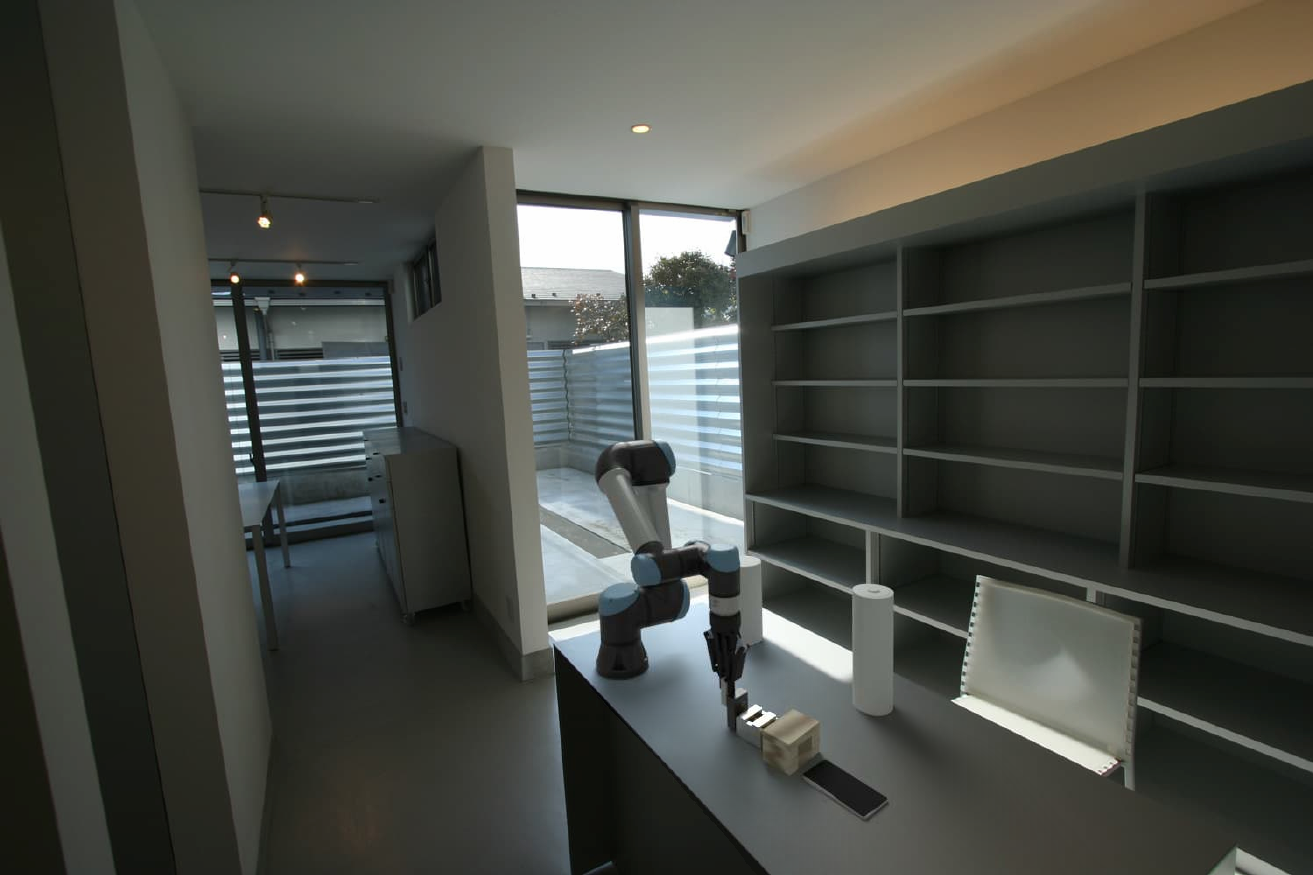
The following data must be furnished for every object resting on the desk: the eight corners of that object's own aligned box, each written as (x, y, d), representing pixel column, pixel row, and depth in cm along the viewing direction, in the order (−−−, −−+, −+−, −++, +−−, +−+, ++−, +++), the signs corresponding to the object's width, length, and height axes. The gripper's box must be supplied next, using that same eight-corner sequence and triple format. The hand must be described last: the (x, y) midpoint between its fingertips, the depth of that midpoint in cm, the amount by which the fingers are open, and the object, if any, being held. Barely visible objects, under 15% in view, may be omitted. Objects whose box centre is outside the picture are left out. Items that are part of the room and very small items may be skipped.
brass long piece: (727, 726, 141) (726, 695, 140) (740, 717, 144) (739, 687, 143) (790, 762, 127) (789, 728, 126) (803, 751, 131) (802, 718, 130)
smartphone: (864, 817, 111) (800, 774, 123) (864, 823, 111) (800, 779, 123) (888, 797, 116) (825, 757, 128) (888, 803, 116) (825, 763, 128)
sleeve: (736, 735, 138) (736, 715, 137) (754, 724, 142) (754, 703, 141) (760, 749, 132) (760, 728, 132) (778, 737, 137) (777, 715, 136)
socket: (763, 759, 129) (762, 729, 128) (793, 737, 136) (793, 708, 135) (789, 775, 124) (789, 744, 123) (819, 751, 131) (819, 721, 130)
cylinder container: (896, 717, 142) (897, 597, 138) (855, 714, 144) (854, 595, 140) (889, 695, 151) (889, 582, 148) (850, 692, 153) (850, 581, 150)
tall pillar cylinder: (754, 648, 179) (752, 568, 176) (722, 641, 185) (720, 563, 181) (768, 634, 188) (766, 558, 184) (737, 627, 193) (735, 553, 190)
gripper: (694, 606, 143) (697, 698, 146) (735, 622, 133) (737, 721, 136) (715, 597, 148) (718, 686, 151) (756, 612, 138) (758, 707, 141)
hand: (727, 703), depth 143 cm, fingers closed
